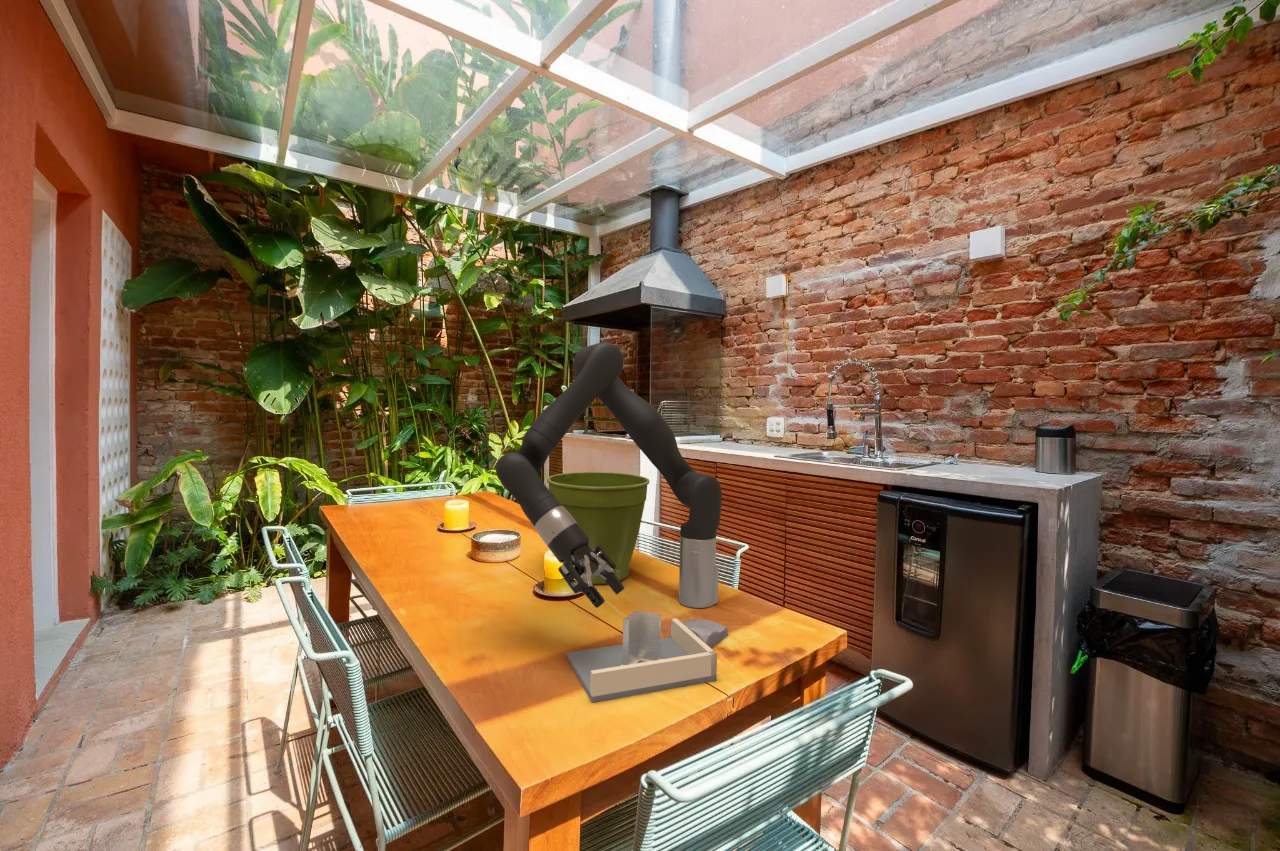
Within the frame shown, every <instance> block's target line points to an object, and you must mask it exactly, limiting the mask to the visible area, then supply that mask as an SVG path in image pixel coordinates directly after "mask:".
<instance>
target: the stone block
mask: <svg viewBox="0 0 1280 851" xmlns="http://www.w3.org/2000/svg"><path fill="white" fill-rule="evenodd" d="M681 623H682V624H684V625H685V626H686V627H687V628H688V629H689V630H690V631H692V632H693V633H694V634H695V635H696V636H697V637H698V638H700V639H701V640H702V641H703V642H704V643H705V644H707V645H708V646H709V647H710V648H711V649H712V648H714V647H715V646H716V645H718V644H719V643H720V642H722V641H723V640H724V639H725V638H726V636H728V630H729V628H728V626H726V625H721V624H720V623H719V622H718V623H717V622H716V621H712V620H710V619H709V620H708V619H698V618H697V619H688V620H686V621H684V622H681ZM669 633H670V637H671V638H672V636H671V631H670V632H669Z"/></svg>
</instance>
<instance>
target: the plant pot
mask: <svg viewBox="0 0 1280 851" xmlns="http://www.w3.org/2000/svg"><path fill="white" fill-rule="evenodd" d="M546 482H547V484H548V489H549V490H550V491H551V492H552V494H553V495H554V496H555V497H556V499H557V500H558V501H559V502H560V504H561V505H562V506H563V507H564V508H565V509H566V510H567V511H568V512H569V513H570V514H571V516H572V517H573V518H574V519H575V521H576V522H577V523H578V525H579V526H580V527H581V528H582V530H583V531H584V532H585V533H586V535H587V536H588V537H589V543H588V547H589V548H591V549H592V550H593V549H594V548H596V547H597V546H600V547H601V548H602V549H603V550H604V552H605V553H606V554H607V555H608V556H609V558H610V559H611V560H612V561H613V562H614V564H615V565H616V568H615V569H614V574H615V576H616V577H617V578H618V579H619V581H620V582H621V581H623V580H624V579H626V578H627V577H628V576H629V574H630V564H631V560H632V558H633V554H634V551H635V548H636V545H637V540H638V536H639V533H640V529H641V523H642V518H643V513H644V509H645V502H646V501H647V495H648V494H647V493H648V485H649V484H650V482H651V481H650V479H649V478H647V477H645V476H642V475H639V474H637V475H636V474H633V473H632V474H631V473H624V472H623V473H622V472H606V471H604V472H603V471H581V472H578V471H576V472H566V473H558V474H553V475H550V476H548V477H546ZM600 558H601V557H600ZM605 562H606V561H605ZM606 565H608V566H610V565H609V564H608V563H607V562H606ZM602 572H604V571H602ZM604 573H605V572H604ZM605 580H607V579H604V578H602V577H600V576H599V575H597V576H595V575H593V574H592V575H591V581H592V585H605V584H607V582H606V581H605ZM607 585H608V584H607Z"/></svg>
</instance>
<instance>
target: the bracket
mask: <svg viewBox="0 0 1280 851" xmlns="http://www.w3.org/2000/svg"><path fill="white" fill-rule="evenodd" d="M622 623H623V625H622V644H623V665H630V664H632V663H633V662H634V661H635V660H636V659H637V658H639V659H644V660H648V661H655V660H660V647H661V639H662V632H661V631H662V614H660V613H653V612H649V611H643V610H638V609H634V610H633V611H632V612H631V613H629V615H627V616H626V617H624V618H623V622H622Z"/></svg>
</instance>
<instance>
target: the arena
mask: <svg viewBox="0 0 1280 851" xmlns="http://www.w3.org/2000/svg"><path fill="white" fill-rule="evenodd" d="M670 622H671V623H670V624H671V626H670V632H671V636H672V638H671V636H670V637H665V638H661V647H660V660H655V661H648V660H644V659H639V658H637V659H636V660H635V661H634V662H633V663H632V664H630V665H623V643H622V644H617V645H610V646H609V645H608V646H602V647H596V648H589V649H582V650H575V651H569V652H566V658H567V660H568V662H569V664H570V666H571V667H572V670H573V671H574V672H575V675H576V676H577V678H578V680H579V682H580V683H581V685H582V687H583V689H584V691H585V693H586V694H587V697H588V698H589V699H590V701H591V703H596V702H603V701H607V700H608V701H609V700H614V699H618V698H626V697H631V696H636V695H642V694H648V693H653V692H658V691H665V690H671V689H675V688H681V687H687V686H692V685H697V684H703V683H709V682H714V681H717V676H718V673H717V672H718V653H717V652H716V651H714V650H713V649H712V648H710V647H709V646H708V645H707V644H705V643H704V642H703V641H702V640H701V639H700V638H698V637H697V636H696V635H695V634H694V633H693V632H692V631H690V630H689V629H688V628H687V627H686V626H685V625H684V624H682V623H683V622H681V621H680V620H679V619H678V618H671V621H670Z"/></svg>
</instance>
